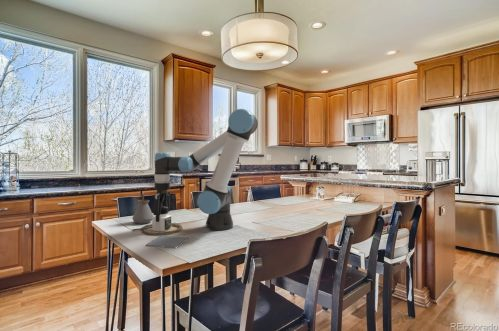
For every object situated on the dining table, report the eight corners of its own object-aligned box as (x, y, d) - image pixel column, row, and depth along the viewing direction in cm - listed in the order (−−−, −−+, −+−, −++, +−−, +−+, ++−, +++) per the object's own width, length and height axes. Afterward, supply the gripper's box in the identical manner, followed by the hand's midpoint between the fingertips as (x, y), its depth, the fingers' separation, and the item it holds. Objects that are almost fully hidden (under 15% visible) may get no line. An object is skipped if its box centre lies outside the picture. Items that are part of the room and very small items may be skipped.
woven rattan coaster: (187, 225, 155) (187, 223, 155) (172, 236, 135) (172, 233, 135) (153, 224, 158) (153, 222, 158) (132, 233, 138) (132, 231, 138)
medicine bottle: (164, 232, 142) (164, 208, 142) (152, 231, 144) (152, 207, 143) (171, 228, 149) (171, 206, 149) (159, 227, 151) (159, 205, 150)
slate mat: (188, 238, 132) (188, 237, 132) (176, 247, 118) (176, 246, 118) (160, 236, 134) (160, 235, 134) (145, 245, 120) (145, 244, 120)
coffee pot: (154, 224, 159) (154, 197, 158) (132, 225, 154) (132, 198, 154) (152, 216, 178) (152, 192, 178) (133, 217, 174) (133, 193, 174)
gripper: (163, 180, 156) (163, 221, 157) (145, 183, 136) (145, 230, 137) (176, 180, 155) (176, 221, 156) (160, 184, 135) (159, 231, 136)
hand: (161, 225), depth 147 cm, fingers closed on medicine bottle, 7 cm apart
